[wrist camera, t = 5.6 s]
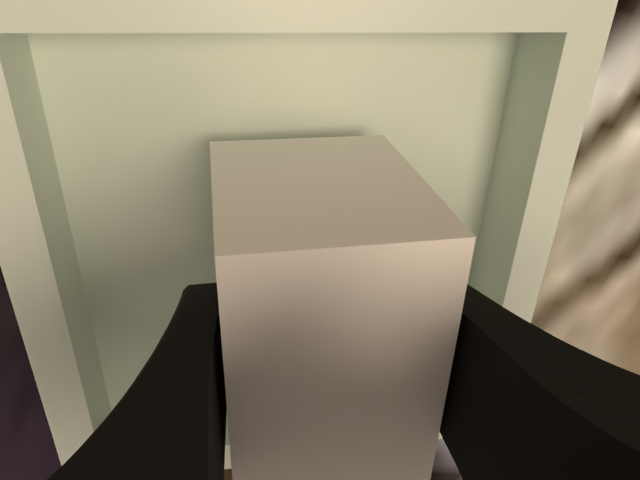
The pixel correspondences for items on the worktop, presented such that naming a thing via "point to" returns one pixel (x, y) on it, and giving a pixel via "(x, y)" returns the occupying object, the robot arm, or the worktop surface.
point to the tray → (259, 124)
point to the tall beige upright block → (334, 307)
